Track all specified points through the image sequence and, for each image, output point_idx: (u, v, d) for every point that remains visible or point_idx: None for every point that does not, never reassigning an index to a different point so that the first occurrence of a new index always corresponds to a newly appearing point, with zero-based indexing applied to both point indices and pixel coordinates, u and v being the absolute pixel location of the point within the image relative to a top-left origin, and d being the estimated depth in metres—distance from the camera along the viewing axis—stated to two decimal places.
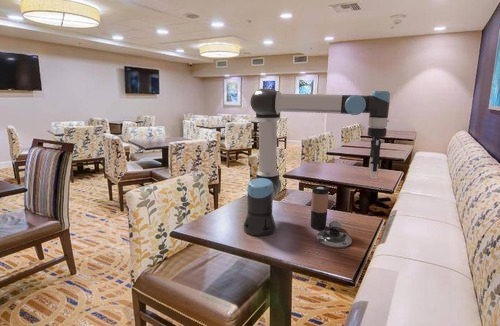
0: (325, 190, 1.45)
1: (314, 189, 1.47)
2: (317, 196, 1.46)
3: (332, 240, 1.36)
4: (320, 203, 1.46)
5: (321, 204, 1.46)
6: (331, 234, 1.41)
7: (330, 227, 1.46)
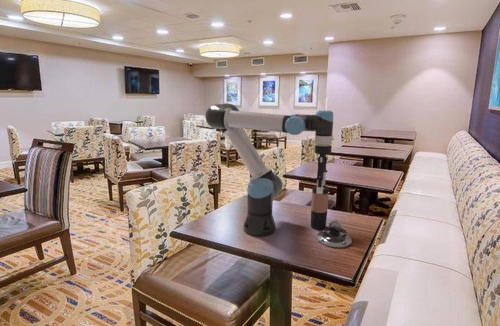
0: (325, 190, 1.45)
1: (314, 189, 1.47)
2: (317, 196, 1.46)
3: (332, 240, 1.36)
4: (320, 203, 1.46)
5: (321, 204, 1.46)
6: (331, 234, 1.41)
7: (330, 227, 1.46)
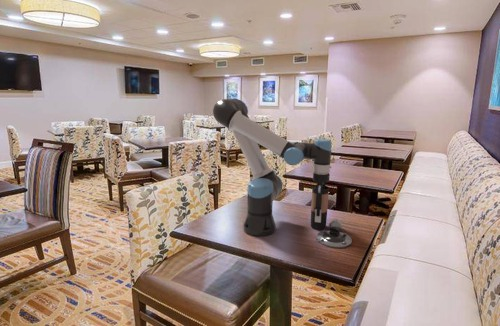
0: (325, 190, 1.45)
1: (314, 189, 1.47)
2: None
3: (332, 240, 1.36)
4: None
5: None
6: (331, 234, 1.41)
7: (330, 227, 1.46)
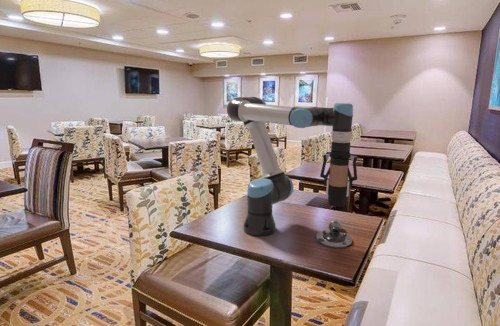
0: (332, 160, 1.30)
1: None
2: None
3: (332, 240, 1.36)
4: None
5: (329, 174, 1.33)
6: (331, 234, 1.41)
7: (330, 227, 1.46)
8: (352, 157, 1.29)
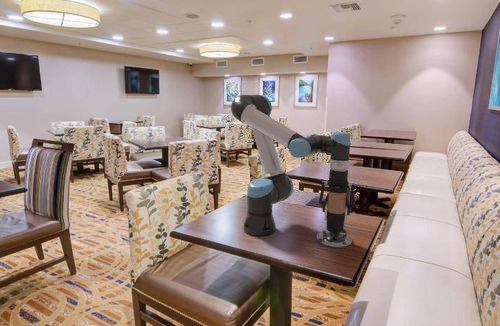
0: (330, 187, 1.32)
1: None
2: None
3: (332, 240, 1.36)
4: None
5: None
6: (331, 234, 1.41)
7: None
8: (350, 185, 1.32)
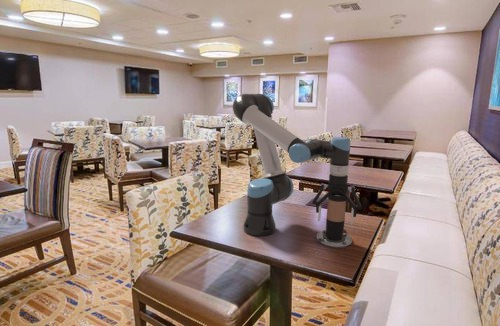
0: (330, 195, 1.33)
1: None
2: None
3: (332, 240, 1.36)
4: (327, 208, 1.37)
5: (327, 209, 1.36)
6: None
7: None
8: (350, 188, 1.32)
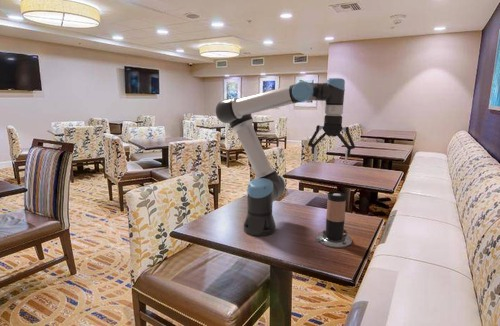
0: (330, 196, 1.33)
1: None
2: None
3: (332, 240, 1.36)
4: (327, 208, 1.37)
5: (327, 209, 1.36)
6: None
7: None
8: (344, 128, 1.37)
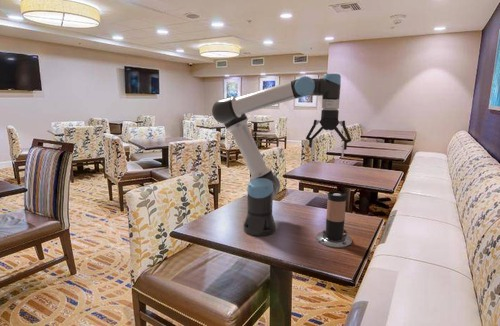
0: (330, 196, 1.33)
1: None
2: None
3: (332, 240, 1.36)
4: (327, 208, 1.37)
5: (327, 209, 1.36)
6: None
7: None
8: (340, 122, 1.41)
